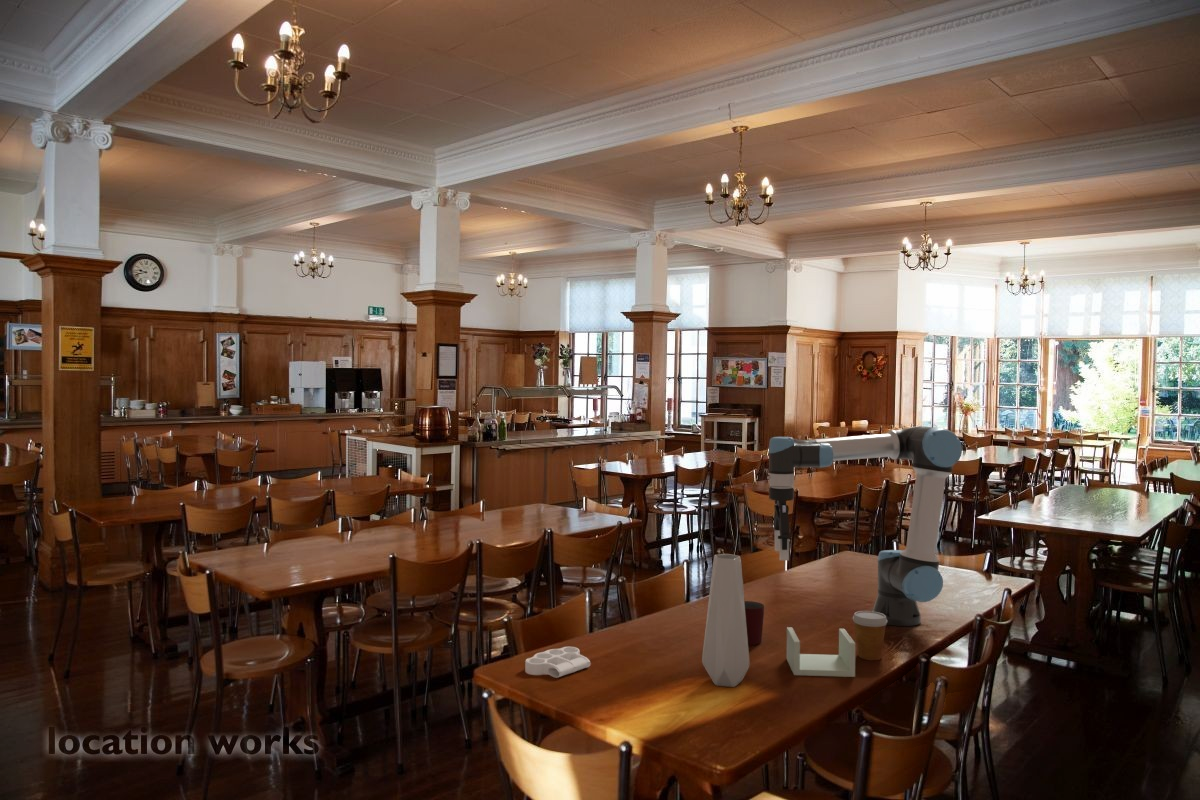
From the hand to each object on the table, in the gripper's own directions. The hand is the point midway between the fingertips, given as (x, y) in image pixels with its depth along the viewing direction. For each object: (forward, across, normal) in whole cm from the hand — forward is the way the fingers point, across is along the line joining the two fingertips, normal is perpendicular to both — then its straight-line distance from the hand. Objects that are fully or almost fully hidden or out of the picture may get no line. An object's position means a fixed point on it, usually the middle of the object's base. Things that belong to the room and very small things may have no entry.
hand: (781, 555), depth 253 cm
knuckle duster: (+25, +36, -65) cm, 78 cm away
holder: (+25, +28, +7) cm, 38 cm away
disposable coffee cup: (+25, +17, +23) cm, 38 cm away
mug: (+25, +8, -12) cm, 29 cm away
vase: (+25, +42, -18) cm, 53 cm away
